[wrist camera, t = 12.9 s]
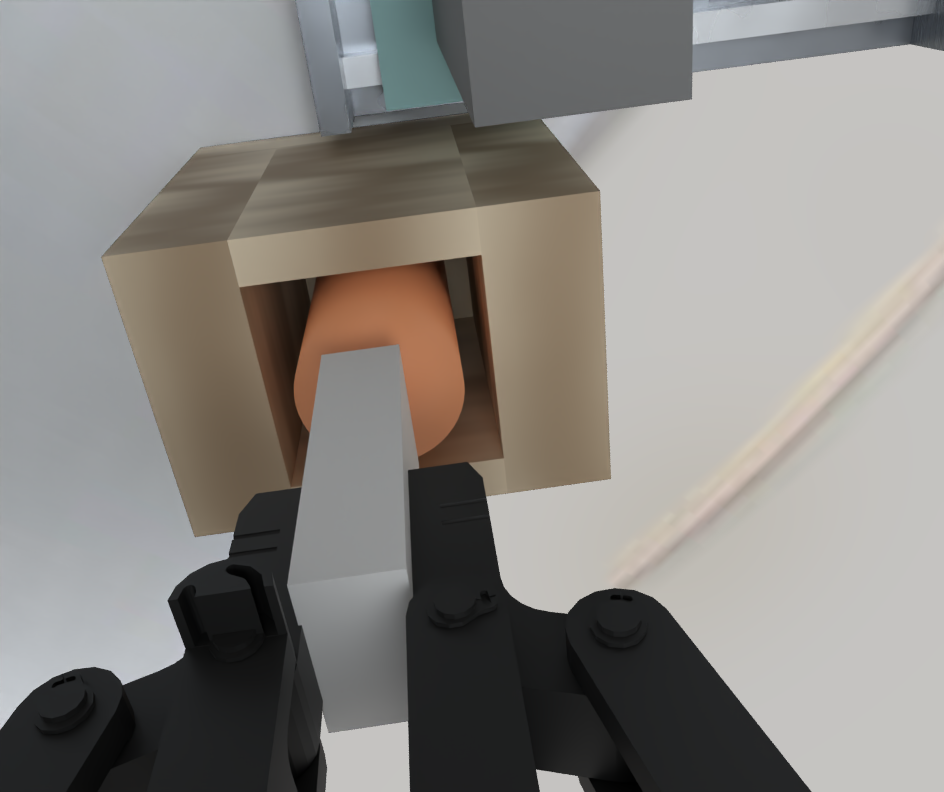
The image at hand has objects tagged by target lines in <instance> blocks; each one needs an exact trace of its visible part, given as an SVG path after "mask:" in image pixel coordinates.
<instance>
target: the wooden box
mask: <svg viewBox="0 0 944 792" xmlns="http://www.w3.org/2000/svg"><path fill="white" fill-rule="evenodd" d="M101 258H102V261H103V264H104V267H105V270H106V273H107V276H108V279H109V282H110V285H111V288H112V291H113V294H114V297H115V300H116V303H117V306H118V309H119V312H120V315H121V318H122V321H123V324H124V327H125V330H126V333H127V336H128V339H129V342H130V345H131V348H132V351H133V354H134V357H135V360H136V363H137V366H138V369H139V372H140V375H141V378H142V380H143V383H144V386H145V389H146V392H147V395H148V398H149V401H150V404H151V407H152V410H153V413H154V416H155V419H156V422H157V425H158V428H159V431H160V434H161V437H162V440H163V443H164V446H165V449H166V452H167V455H168V458H169V461H170V464H171V467H172V470H173V473H174V476H175V479H176V482H177V485H178V488H179V491H180V494H181V497H182V500H183V503H184V506H185V509H186V512H187V515H188V518H189V521H190V524H191V527H192V530H193V533H194V536H195V537H199V536H206V535H213V534H220V533H227V532H234V531H235V527H236V523H237V519H238V515H239V513H240V512H241V511H242V510H243V509H244V507H245V506H246V505H247V504H248V503H249V501H250V500H251V499H252V498H253V497H254V495H255V494H257V493H264V492H271V491H278V490H285V489H292V488H299V487H302V482H303V476H304V469H305V462H306V456H307V449H308V442H309V436H310V433H309V432H308V430H307V429H306V427H305V426H304V424H303V422H302V420H301V418H300V416H299V414H298V411H297V408H296V405H295V399H294V380H295V373H296V369H297V364H298V360H299V355H300V351H301V346H302V341H303V337H304V332H305V328H306V323H307V319H308V314H309V309H310V305H311V300H312V296H313V291H314V287H315V282H316V277H320V276H327V275H335V274H342V273H350V272H357V271H365V270H372V269H380V268H387V267H395V266H402V265H410V264H417V263H424V262H432V261H439V260H444V263H445V269H446V275H447V281H448V287H449V293H450V299H451V305H452V311H453V317H454V323H455V329H456V335H457V341H458V347H459V353H460V359H461V365H462V371H463V377H464V387H465V394H464V403H463V407H462V411H461V413H460V416H459V418H458V420H457V422H456V424H455V426H454V427H453V429H452V430H451V431H450V433H449V434H448V435H447V436H446V437H445V438H444V439H443V440H442V441H441V442H440V443H439V444H438V445H437V446H435V447H434V448H433V449H431V450H430V451H428V452H426V453H425V454H423V455H421V456H419V457H418V461H419V468H426V467H433V466H440V465H447V464H455V463H462V462H468V463H469V464H470V465H471V466H472V467H473V468H474V469H475V470H476V471H477V472H478V473H479V474H480V475H481V476H482V477H483V482H484V487H485V493H486V496H491V495H498V494H506V493H514V492H521V491H528V490H535V489H542V488H549V487H556V486H564V485H571V484H577V483H585V482H592V481H599V480H607V479H611V470H610V443H609V419H608V418H609V416H608V390H607V364H606V339H605V311H604V284H603V259H602V233H601V204H600V190H599V189H598V188H597V187H596V186H595V184H594V183H593V182H592V181H591V179H590V178H589V177H588V176H587V175H586V173H585V172H584V171H583V170H582V169H581V167H580V166H579V165H578V164H577V163H576V161H575V160H574V159H573V158H572V156H571V155H570V154H569V153H568V152H567V150H566V149H565V148H564V147H563V146H562V144H561V143H560V142H559V141H558V140H557V138H556V137H555V136H554V135H553V133H552V132H551V131H550V130H549V129H548V127H547V126H546V125H545V124H544V123H543V121H542V120H541V119H537V120H529V121H521V122H514V123H506V124H498V125H491V126H483V127H475V126H474V124H473V122H472V120H471V117H470V115H469V113H464V114H456V115H448V116H441V117H433V118H425V119H418V120H410V121H402V122H394V123H387V124H379V125H371V126H364V127H356V128H352V132H351V133H347V134H339V135H331V136H323V137H321V134H320V132H318V133H310V134H302V135H294V136H287V137H279V138H271V139H264V140H256V141H248V142H241V143H233V144H225V145H217V146H210V147H202V148H200V149H199V150H198V151H197V152H196V153H195V154H194V155H193V156H192V157H191V159H190V160H189V161H188V162H187V163H186V164H185V165H184V166H183V167H182V168H181V170H180V171H179V172H178V173H177V174H176V175H175V176H174V177H173V178H172V179H171V181H170V182H169V183H168V184H167V185H166V186H165V187H164V188H163V189H162V190H161V192H160V193H159V194H158V195H157V196H156V197H155V198H154V199H153V200H152V202H151V203H150V204H149V205H148V206H147V207H146V208H145V209H144V210H143V211H142V213H141V214H140V215H139V216H138V217H137V218H136V219H135V220H134V221H133V222H132V224H131V225H130V226H129V227H128V228H127V229H126V230H125V231H124V232H123V233H122V235H121V236H120V237H119V238H118V239H117V240H116V241H115V242H114V243H113V245H112V246H111V247H110V248H109V249H108V250H107V251H106V252H105V253H104V254H103V256H102V257H101Z"/></svg>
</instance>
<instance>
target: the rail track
mask: <svg viewBox="0 0 944 792" xmlns="http://www.w3.org/2000/svg"><path fill="white" fill-rule="evenodd" d="M295 2H296V8H297V13H298V18H299V23H300V29H301V34H302V39H303V44H304V50H305V55H306V60H307V65H308V71H309V76H310V81H311V86H312V92H313V97H314V102H315V107H316V113H317V118H318V123H319V128H320V134H321V137H323V136H331V135H339V134H347V133H351V132H352V127H353V122H354V117H355V116H360V115H368V114H375V113H383V112H391V111H399V110H406V109H399V110H391V111H386V104H385V98H384V91H383V84H382V78H381V71H380V65H379V58H378V52H377V45H376V39H375V32H374V25H373V19H372V12H371V6H370V0H295ZM907 44H912V45H917V46H922V47H927V48H932V49H937V50H942V51H944V0H693V54H692V72H699V71H707V70H715V69H723V68H730V67H737V66H745V65H753V64H761V63H769V62H776V61H784V60H792V59H799V58H807V57H814V56H822V55H830V54H837V53H846V52H853V51H861V50H869V49H877V48H884V47H891V46H900V45H907ZM461 102H463V101H461ZM453 103H460V102H453ZM453 103H445V104H453ZM445 104H438V105H445ZM430 106H437V105H430ZM422 107H429V106H422ZM422 107H414V108H422ZM414 108H407V109H414Z"/></svg>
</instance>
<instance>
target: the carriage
mask: <svg viewBox="0 0 944 792" xmlns="http://www.w3.org/2000/svg"><path fill="white" fill-rule="evenodd" d="M370 6H371V12H372V19H373V25H374V32H375V39H376V45H377V52H378V58H379V65H380V71H381V78H382V84H383V91H384V98H385V104H386V111H391V110H399V109H407V108H414V107H422V106H430V105H438V104H445V103H453V102H461V101H463V102H464V104H465V106H466V108H467V111H468V113H469V115H470V117H471V120H472V122H473V124H474V126H475V127H483V126H491V125H498V124H506V123H514V122H521V121H529V120H537V119H544V118H552V117H560V116H567V115H575V114H583V113H590V112H598V111H606V110H613V109H621V108H629V107H636V106H644V105H652V104H659V103H667V102H675V101H682V100H690V99H692V54H693V0H370Z"/></svg>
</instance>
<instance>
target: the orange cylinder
mask: <svg viewBox="0 0 944 792" xmlns="http://www.w3.org/2000/svg"><path fill="white" fill-rule="evenodd" d="M397 344H399V347H400V353H401V359H402V365H403V371H404V377H405V383H406V389H407V395H408V401H409V407H410V413H411V419H412V425H413V431H414V437H415V443H416V449H417V455H418V457H419V456H421V455H423V454H425V453H426V452H428V451H430V450H431V449H433V448H434V447H435V446H437V445H438V444H439V443H440V442H441V441H442V440H443V439H444V438H445V437H446V436H447V435H448V434H449V433H450V431H451V430H452V429H453V427H454V426H455V424H456V422H457V420H458V418H459V416H460V413H461V411H462V407H463V403H464V394H465V387H464V377H463V371H462V365H461V359H460V353H459V347H458V341H457V335H456V329H455V323H454V317H453V311H452V305H451V299H450V293H449V287H448V281H447V275H446V269H445V263H444V260H439V261H432V262H424V263H417V264H410V265H402V266H395V267H387V268H380V269H372V270H365V271H357V272H350V273H342V274H335V275H327V276H320V277H316V282H315V287H314V291H313V296H312V300H311V305H310V309H309V314H308V319H307V323H306V328H305V332H304V337H303V341H302V346H301V351H300V355H299V360H298V364H297V369H296V373H295V380H294V399H295V405H296V408H297V411H298V414H299V416H300V418H301V420H302V422H303V424H304V426H305V427H306V429H307V430H308V432H309V433H310V429H311V422H312V415H313V409H314V402H315V395H316V389H317V382H318V375H319V369H320V362H321V355H325V354H332V353H339V352H346V351H354V350H361V349H368V348H376V347H383V346H390V345H397Z"/></svg>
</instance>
